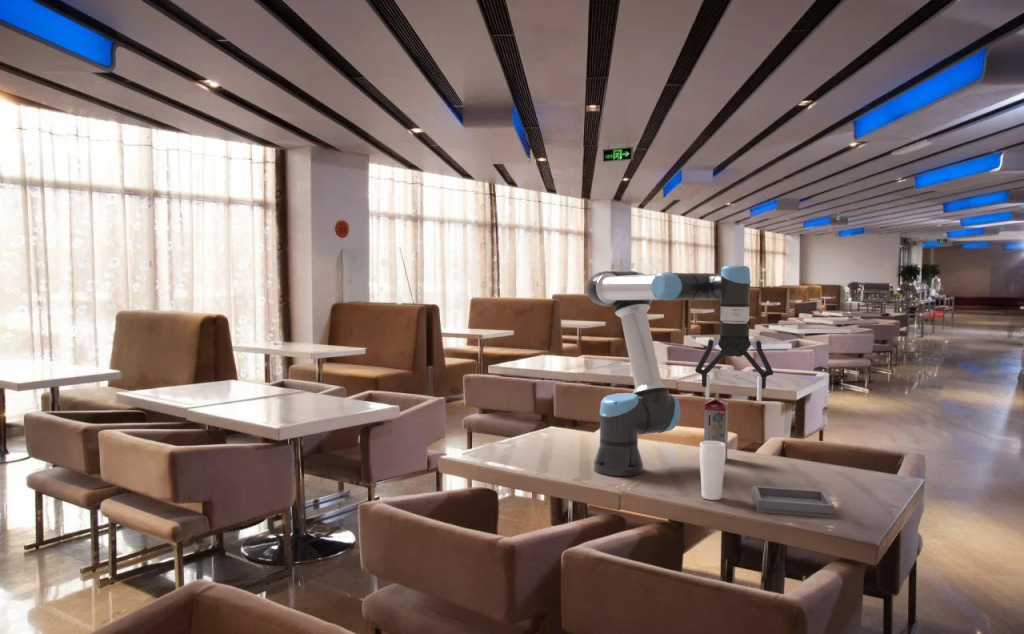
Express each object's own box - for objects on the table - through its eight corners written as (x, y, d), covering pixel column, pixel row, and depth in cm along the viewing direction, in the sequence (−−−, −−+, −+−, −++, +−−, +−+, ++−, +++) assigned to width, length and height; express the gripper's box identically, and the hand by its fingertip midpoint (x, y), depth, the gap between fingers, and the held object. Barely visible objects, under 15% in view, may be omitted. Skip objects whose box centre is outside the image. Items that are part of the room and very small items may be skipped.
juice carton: (727, 458, 233) (728, 392, 232) (724, 462, 227) (726, 395, 226) (706, 456, 236) (708, 391, 235) (703, 460, 230) (704, 394, 229)
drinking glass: (695, 494, 193) (696, 440, 192) (718, 494, 193) (720, 440, 193) (703, 502, 186) (704, 446, 185) (728, 501, 187) (729, 445, 186)
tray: (757, 511, 178) (758, 500, 178) (752, 496, 191) (753, 485, 191) (834, 517, 174) (834, 505, 174) (823, 502, 187) (824, 490, 187)
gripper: (688, 322, 190) (686, 400, 191) (785, 323, 185) (783, 403, 186) (686, 320, 197) (685, 395, 198) (780, 322, 192) (778, 399, 193)
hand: (733, 399), depth 192 cm, fingers open, 13 cm apart
